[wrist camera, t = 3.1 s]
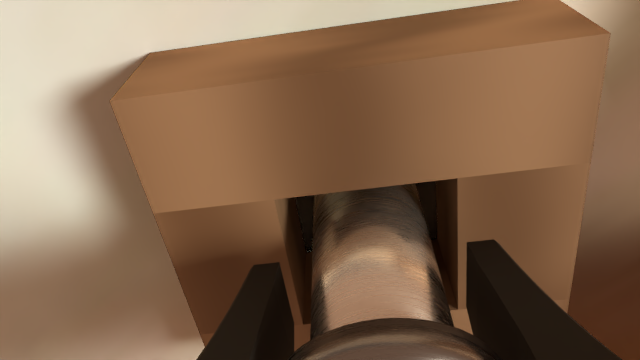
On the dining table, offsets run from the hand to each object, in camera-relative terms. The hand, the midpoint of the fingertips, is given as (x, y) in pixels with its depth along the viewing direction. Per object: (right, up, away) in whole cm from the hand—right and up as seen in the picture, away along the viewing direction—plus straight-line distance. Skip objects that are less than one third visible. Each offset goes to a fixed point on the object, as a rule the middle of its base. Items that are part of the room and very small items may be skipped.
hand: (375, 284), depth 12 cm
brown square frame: (0, +2, +3) cm, 4 cm away
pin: (0, +2, +3) cm, 4 cm away
